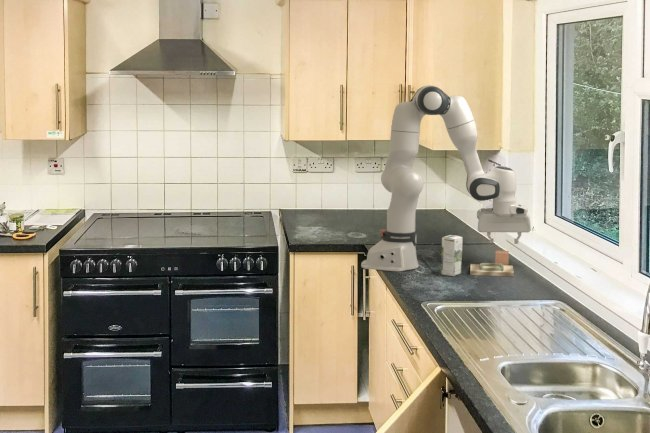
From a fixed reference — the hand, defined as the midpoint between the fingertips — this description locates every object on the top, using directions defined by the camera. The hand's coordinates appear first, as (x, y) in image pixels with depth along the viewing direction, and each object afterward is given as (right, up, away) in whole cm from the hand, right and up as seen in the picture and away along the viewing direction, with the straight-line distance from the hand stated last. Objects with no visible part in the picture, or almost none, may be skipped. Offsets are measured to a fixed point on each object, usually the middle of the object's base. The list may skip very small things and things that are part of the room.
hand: (503, 243), depth 342 cm
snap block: (-1, -9, +1) cm, 9 cm away
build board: (-6, -11, -8) cm, 14 cm away
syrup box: (-22, -12, -11) cm, 27 cm away
